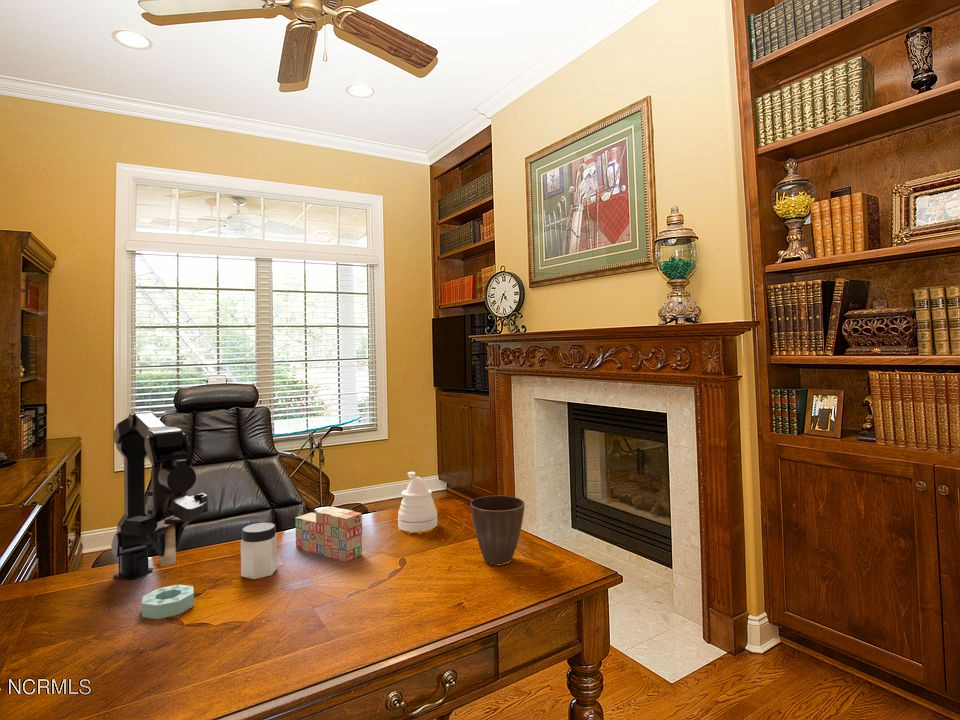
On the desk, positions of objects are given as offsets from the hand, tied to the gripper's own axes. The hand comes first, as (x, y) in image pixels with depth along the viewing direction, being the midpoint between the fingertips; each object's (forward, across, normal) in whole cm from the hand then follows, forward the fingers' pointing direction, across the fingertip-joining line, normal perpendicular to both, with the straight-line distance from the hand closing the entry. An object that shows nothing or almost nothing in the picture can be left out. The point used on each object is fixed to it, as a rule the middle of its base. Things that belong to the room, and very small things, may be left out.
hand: (167, 553), depth 121 cm
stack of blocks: (+13, +40, -16) cm, 45 cm away
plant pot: (+12, +45, -66) cm, 81 cm away
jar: (+12, +22, -7) cm, 26 cm away
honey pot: (+13, +67, -33) cm, 76 cm away
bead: (+12, 0, 0) cm, 12 cm away
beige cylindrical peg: (+2, 0, 0) cm, 2 cm away
